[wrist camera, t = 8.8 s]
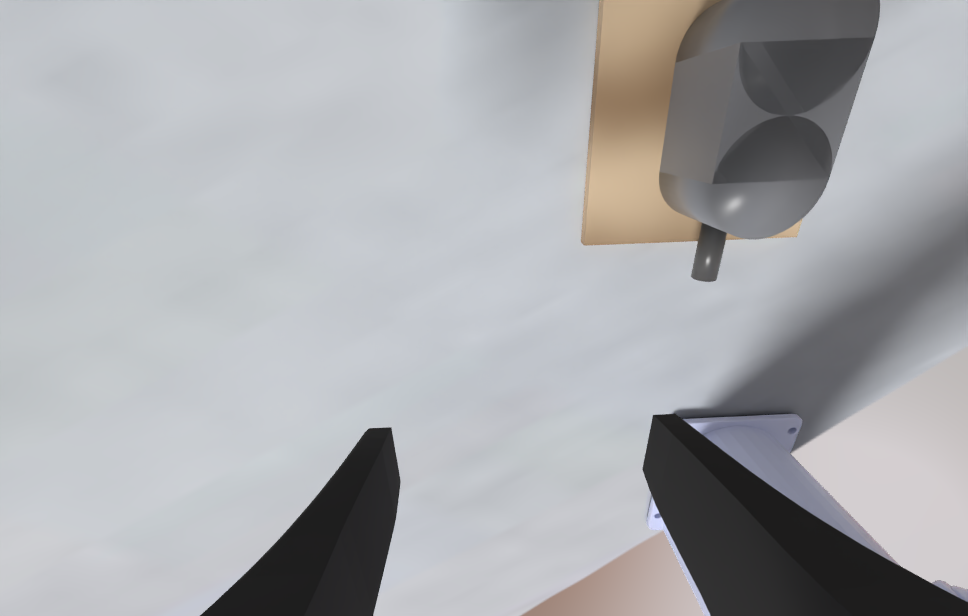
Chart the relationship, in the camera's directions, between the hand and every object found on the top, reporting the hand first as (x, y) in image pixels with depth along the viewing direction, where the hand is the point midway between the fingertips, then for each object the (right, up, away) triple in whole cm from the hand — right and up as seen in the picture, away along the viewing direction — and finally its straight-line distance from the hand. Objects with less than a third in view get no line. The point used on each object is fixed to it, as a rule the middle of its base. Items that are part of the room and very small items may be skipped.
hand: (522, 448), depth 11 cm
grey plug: (+8, +11, +6) cm, 15 cm away
